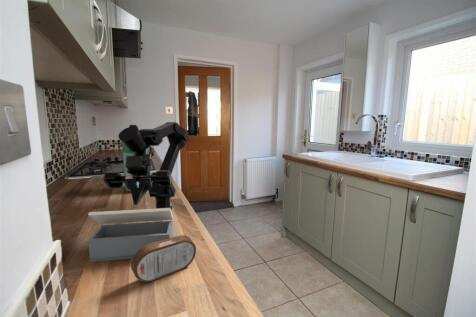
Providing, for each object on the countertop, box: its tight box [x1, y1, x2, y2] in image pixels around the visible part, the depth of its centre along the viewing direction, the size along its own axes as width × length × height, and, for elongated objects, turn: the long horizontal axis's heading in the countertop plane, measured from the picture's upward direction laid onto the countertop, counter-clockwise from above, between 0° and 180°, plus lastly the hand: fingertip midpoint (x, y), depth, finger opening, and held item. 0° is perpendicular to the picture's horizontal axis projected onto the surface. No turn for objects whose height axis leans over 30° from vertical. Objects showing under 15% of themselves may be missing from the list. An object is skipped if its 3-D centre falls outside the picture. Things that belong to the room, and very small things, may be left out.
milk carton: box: [121, 142, 139, 192], centre depth 119 cm, size 9×9×25 cm
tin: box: [130, 234, 197, 283], centre depth 55 cm, size 15×3×8 cm, turn 126°
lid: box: [88, 208, 174, 225], centre depth 66 cm, size 9×20×1 cm
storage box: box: [87, 220, 174, 263], centre depth 65 cm, size 9×20×6 cm, turn 100°
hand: (135, 204), depth 67 cm, fingers closed
